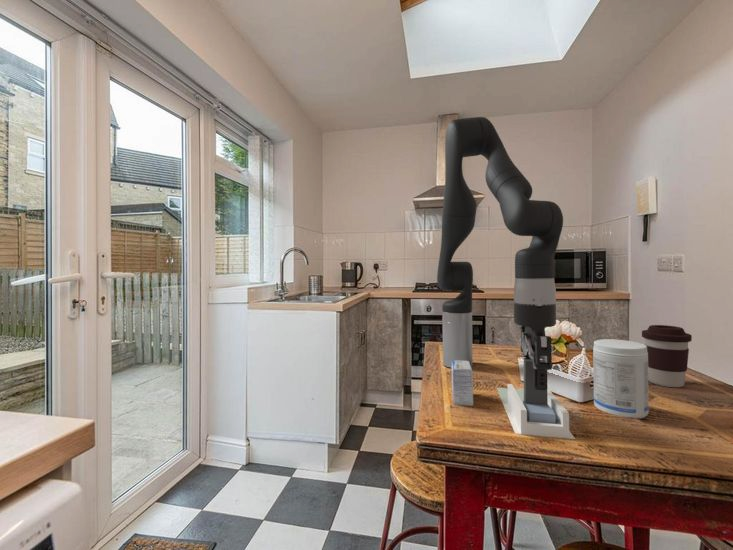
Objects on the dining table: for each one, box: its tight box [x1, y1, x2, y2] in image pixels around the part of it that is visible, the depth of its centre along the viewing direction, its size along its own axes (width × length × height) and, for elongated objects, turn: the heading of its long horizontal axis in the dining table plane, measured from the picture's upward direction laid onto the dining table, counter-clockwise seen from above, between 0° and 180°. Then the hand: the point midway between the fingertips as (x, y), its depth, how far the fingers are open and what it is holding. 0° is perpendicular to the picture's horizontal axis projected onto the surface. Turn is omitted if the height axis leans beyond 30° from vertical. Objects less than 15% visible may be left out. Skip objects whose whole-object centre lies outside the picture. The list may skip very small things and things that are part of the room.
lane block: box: [523, 358, 556, 424], centre depth 67 cm, size 6×4×12 cm
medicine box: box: [450, 360, 474, 406], centre depth 81 cm, size 8×4×9 cm, turn 168°
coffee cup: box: [641, 324, 693, 388], centre depth 91 cm, size 10×10×15 cm
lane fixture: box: [496, 383, 576, 440], centre depth 75 cm, size 25×10×5 cm, turn 167°
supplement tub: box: [592, 338, 649, 420], centre depth 74 cm, size 10×10×15 cm
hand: (535, 382), depth 69 cm, fingers open, 8 cm apart
